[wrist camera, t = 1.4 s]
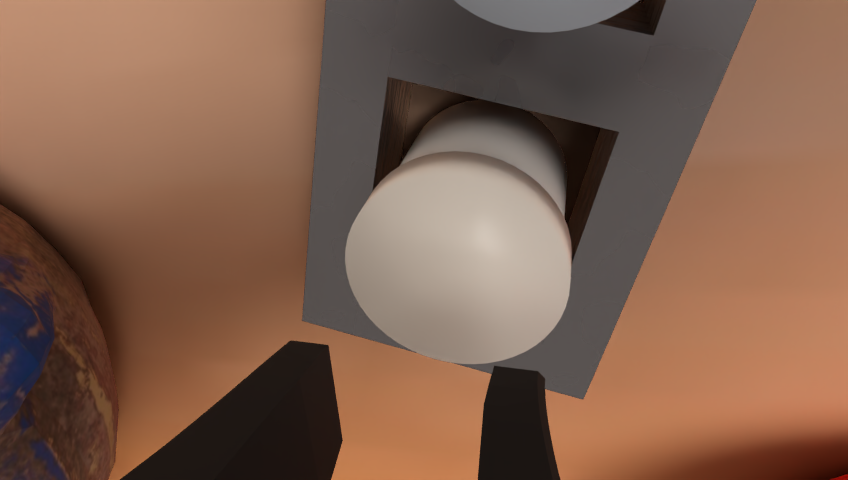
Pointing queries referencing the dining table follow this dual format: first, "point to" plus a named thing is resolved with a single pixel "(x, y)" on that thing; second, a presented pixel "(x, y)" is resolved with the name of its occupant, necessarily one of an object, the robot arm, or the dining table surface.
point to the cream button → (467, 238)
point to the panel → (535, 91)
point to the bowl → (50, 366)
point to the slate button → (545, 13)
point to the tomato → (841, 477)
